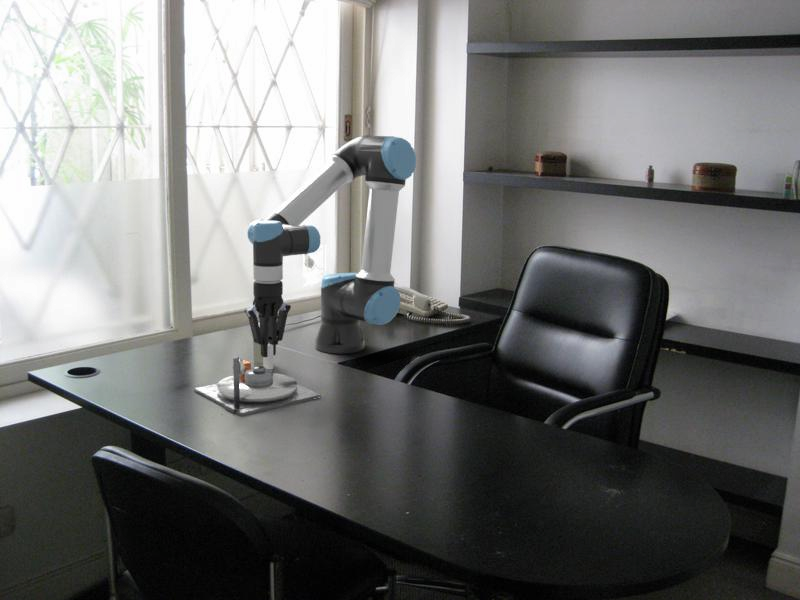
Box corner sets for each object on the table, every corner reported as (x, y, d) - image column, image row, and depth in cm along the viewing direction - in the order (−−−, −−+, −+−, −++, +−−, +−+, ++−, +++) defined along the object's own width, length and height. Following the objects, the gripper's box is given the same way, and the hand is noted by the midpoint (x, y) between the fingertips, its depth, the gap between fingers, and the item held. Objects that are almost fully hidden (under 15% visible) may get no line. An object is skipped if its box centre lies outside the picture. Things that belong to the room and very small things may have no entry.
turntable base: (271, 375, 233) (271, 371, 233) (320, 397, 216) (320, 393, 216) (194, 391, 218) (194, 387, 218) (241, 416, 201) (240, 411, 201)
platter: (269, 372, 231) (269, 353, 230) (312, 391, 216) (312, 371, 215) (202, 386, 218) (202, 366, 217) (243, 407, 203) (243, 385, 202)
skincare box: (268, 370, 238) (268, 327, 235) (253, 369, 238) (252, 327, 235) (272, 363, 244) (272, 322, 242) (257, 363, 244) (257, 321, 242)
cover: (263, 377, 222) (263, 362, 221) (278, 384, 217) (278, 368, 216) (239, 382, 217) (239, 366, 216) (254, 389, 212) (254, 373, 211)
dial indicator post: (236, 404, 210) (236, 353, 207) (248, 410, 206) (247, 358, 203) (222, 407, 207) (221, 355, 204) (233, 413, 203) (233, 361, 200)
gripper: (281, 275, 229) (281, 360, 233) (238, 280, 220) (239, 368, 225) (297, 280, 223) (296, 367, 228) (253, 285, 215) (254, 375, 220)
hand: (268, 367), depth 227 cm, fingers closed
